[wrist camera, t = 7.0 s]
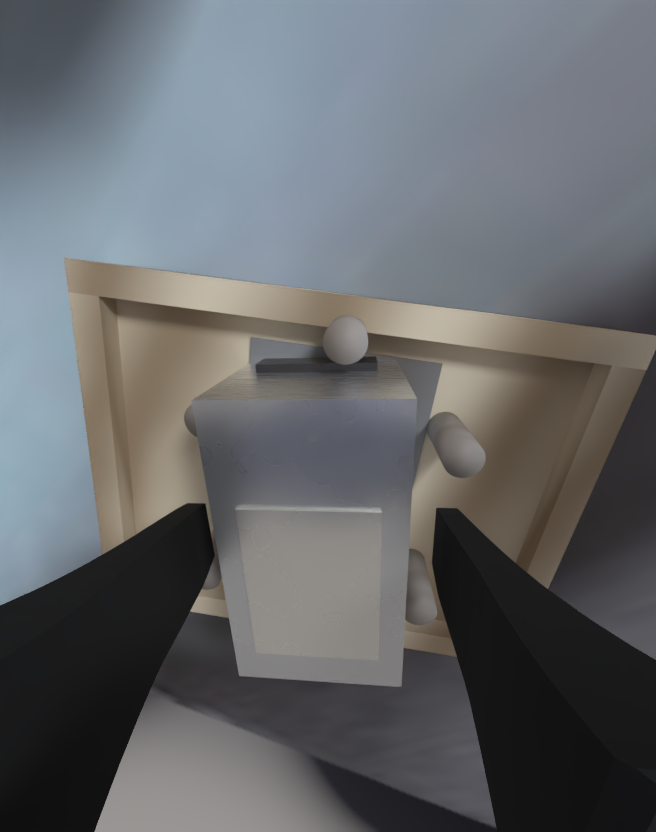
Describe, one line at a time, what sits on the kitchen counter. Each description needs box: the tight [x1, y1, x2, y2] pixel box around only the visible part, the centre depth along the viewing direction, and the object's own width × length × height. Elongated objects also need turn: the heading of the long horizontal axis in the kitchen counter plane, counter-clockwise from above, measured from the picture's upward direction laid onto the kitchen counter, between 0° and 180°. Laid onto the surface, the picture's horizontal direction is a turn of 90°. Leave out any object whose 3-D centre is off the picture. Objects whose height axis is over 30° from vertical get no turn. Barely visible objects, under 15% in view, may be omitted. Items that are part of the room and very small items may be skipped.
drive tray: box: [64, 258, 656, 657], centre depth 13 cm, size 18×14×4 cm
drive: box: [191, 356, 417, 687], centre depth 11 cm, size 5×9×5 cm, turn 2°
